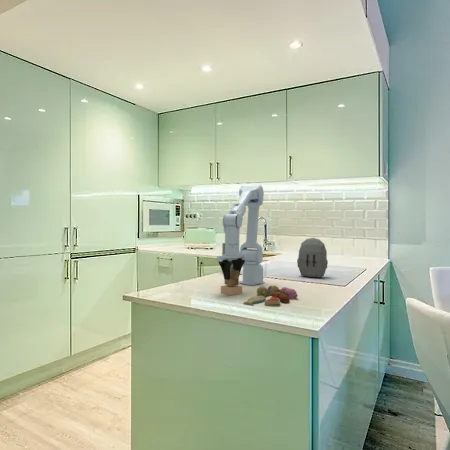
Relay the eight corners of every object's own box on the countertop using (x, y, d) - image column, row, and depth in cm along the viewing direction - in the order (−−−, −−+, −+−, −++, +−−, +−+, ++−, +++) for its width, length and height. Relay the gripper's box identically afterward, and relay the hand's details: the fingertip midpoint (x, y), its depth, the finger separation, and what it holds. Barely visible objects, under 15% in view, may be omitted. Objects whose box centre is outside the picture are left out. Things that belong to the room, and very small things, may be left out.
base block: (231, 291, 143) (231, 284, 143) (242, 293, 139) (242, 286, 139) (220, 293, 139) (220, 286, 139) (231, 296, 135) (231, 288, 135)
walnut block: (232, 283, 142) (232, 269, 141) (238, 284, 138) (238, 270, 138) (224, 284, 139) (224, 270, 139) (230, 285, 136) (230, 271, 136)
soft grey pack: (328, 277, 179) (329, 238, 178) (325, 279, 171) (326, 238, 171) (298, 274, 185) (299, 236, 185) (295, 277, 177) (295, 237, 177)
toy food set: (261, 291, 144) (261, 281, 144) (301, 295, 139) (302, 285, 139) (242, 306, 120) (242, 294, 120) (290, 311, 115) (290, 299, 115)
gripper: (237, 242, 146) (236, 275, 147) (211, 244, 136) (211, 279, 136) (249, 243, 141) (249, 277, 142) (224, 245, 131) (224, 281, 131)
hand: (231, 278), depth 139 cm, fingers open, 5 cm apart
